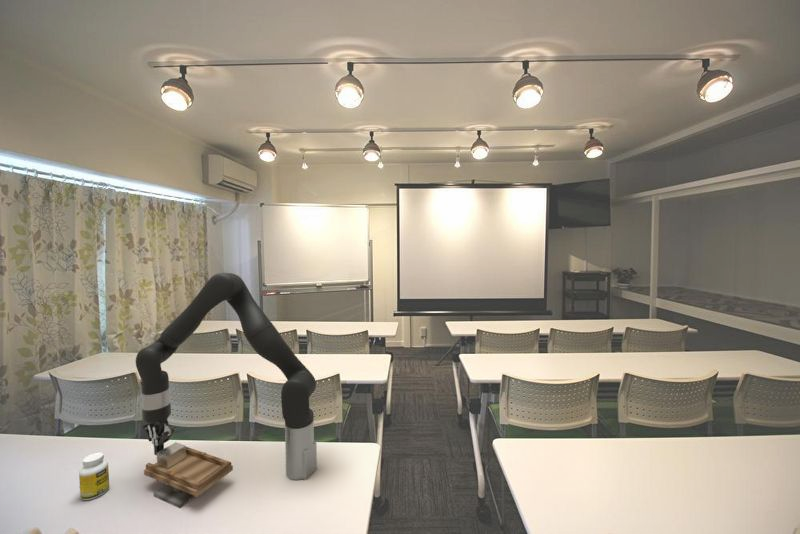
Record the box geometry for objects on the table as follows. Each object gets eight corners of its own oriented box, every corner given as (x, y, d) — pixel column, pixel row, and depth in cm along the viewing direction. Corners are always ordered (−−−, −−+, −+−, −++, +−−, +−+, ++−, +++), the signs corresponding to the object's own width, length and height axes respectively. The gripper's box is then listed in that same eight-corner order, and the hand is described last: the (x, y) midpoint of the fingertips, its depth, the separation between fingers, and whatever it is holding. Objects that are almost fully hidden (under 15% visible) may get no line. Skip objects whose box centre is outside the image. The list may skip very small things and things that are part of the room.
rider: (186, 457, 107) (185, 445, 107) (167, 468, 101) (167, 456, 101) (176, 453, 109) (175, 442, 109) (157, 464, 103) (156, 452, 103)
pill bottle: (91, 503, 96) (89, 465, 95) (74, 499, 97) (72, 462, 96) (115, 487, 102) (113, 451, 101) (98, 484, 103) (96, 449, 103)
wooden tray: (235, 481, 105) (235, 458, 104) (194, 514, 92) (193, 488, 91) (185, 462, 114) (184, 441, 113) (141, 490, 101) (140, 466, 100)
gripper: (181, 402, 108) (183, 452, 109) (156, 395, 113) (158, 443, 114) (157, 412, 101) (160, 466, 102) (131, 405, 106) (134, 456, 107)
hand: (159, 453), depth 108 cm, fingers closed
